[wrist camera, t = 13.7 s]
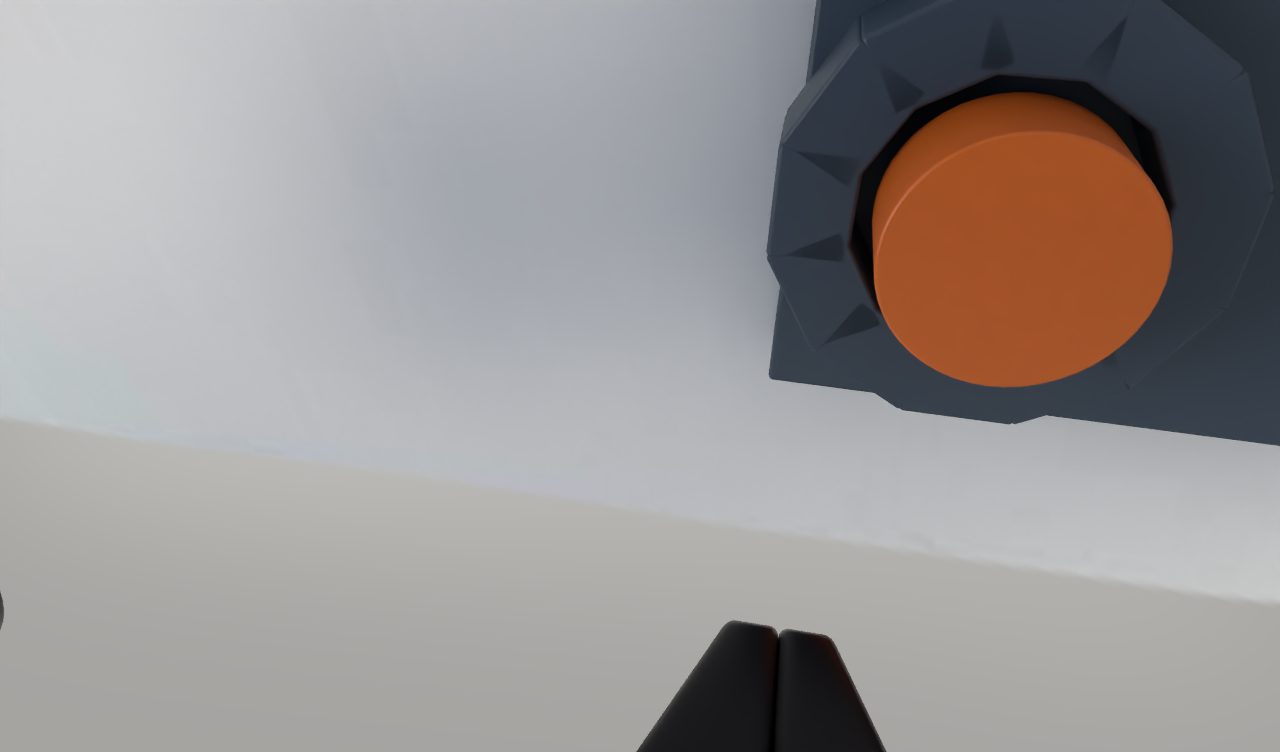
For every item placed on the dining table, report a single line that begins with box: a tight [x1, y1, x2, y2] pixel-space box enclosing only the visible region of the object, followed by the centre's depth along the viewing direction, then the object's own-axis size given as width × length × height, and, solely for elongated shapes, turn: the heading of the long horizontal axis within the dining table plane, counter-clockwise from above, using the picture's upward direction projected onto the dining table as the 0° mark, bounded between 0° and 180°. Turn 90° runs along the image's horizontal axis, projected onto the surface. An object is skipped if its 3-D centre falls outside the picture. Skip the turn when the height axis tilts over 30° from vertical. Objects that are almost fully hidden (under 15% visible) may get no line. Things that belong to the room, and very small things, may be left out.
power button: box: [872, 92, 1173, 387], centre depth 13 cm, size 4×4×2 cm
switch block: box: [767, 0, 1280, 446], centre depth 14 cm, size 12×8×3 cm, turn 88°
